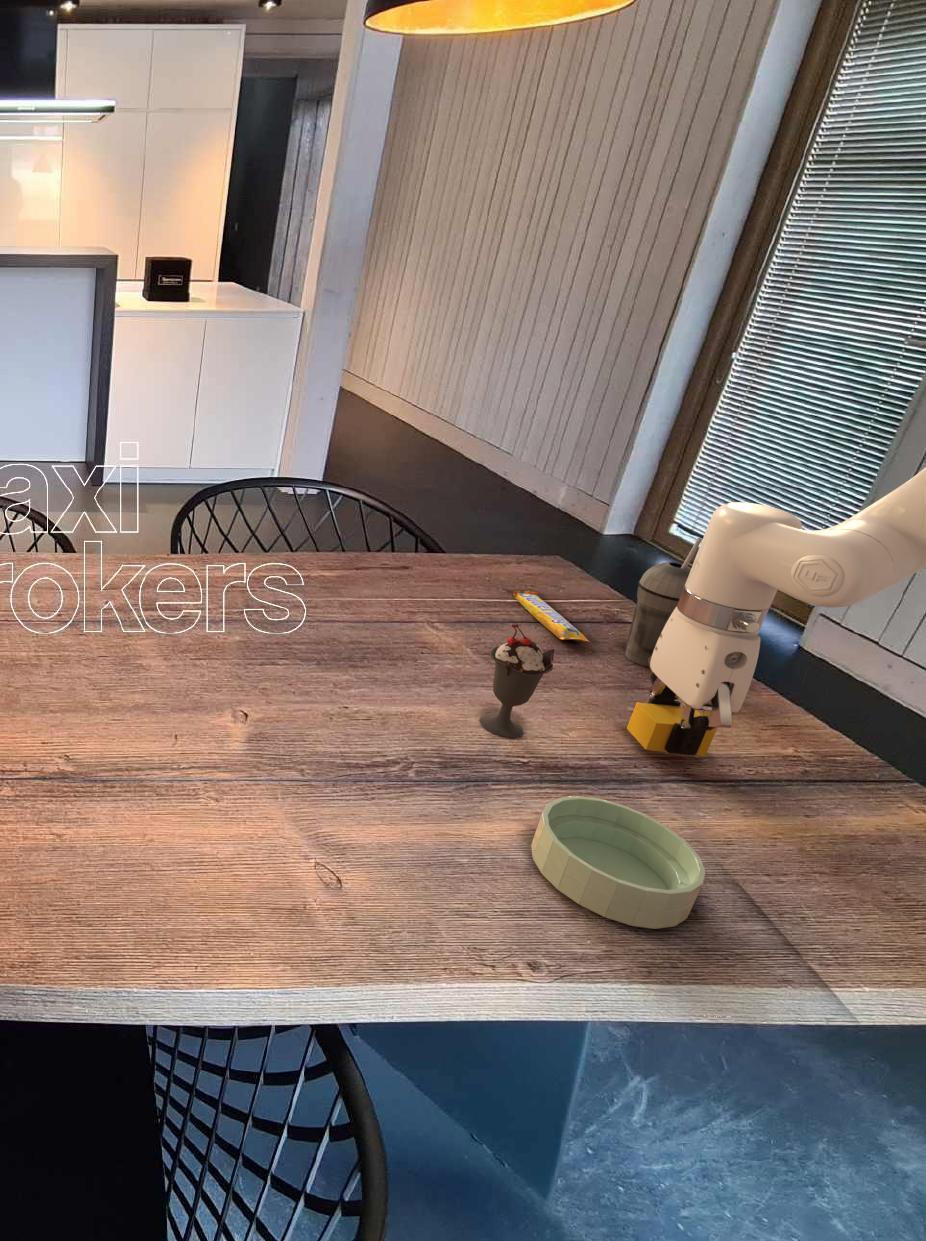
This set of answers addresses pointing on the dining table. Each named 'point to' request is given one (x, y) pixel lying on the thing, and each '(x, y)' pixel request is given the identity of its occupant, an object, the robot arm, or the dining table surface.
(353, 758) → the dining table surface
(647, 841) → the bowl
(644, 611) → the beverage cup
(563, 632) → the candy bar
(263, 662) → the dining table surface
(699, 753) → the sponge
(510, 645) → the sundae
